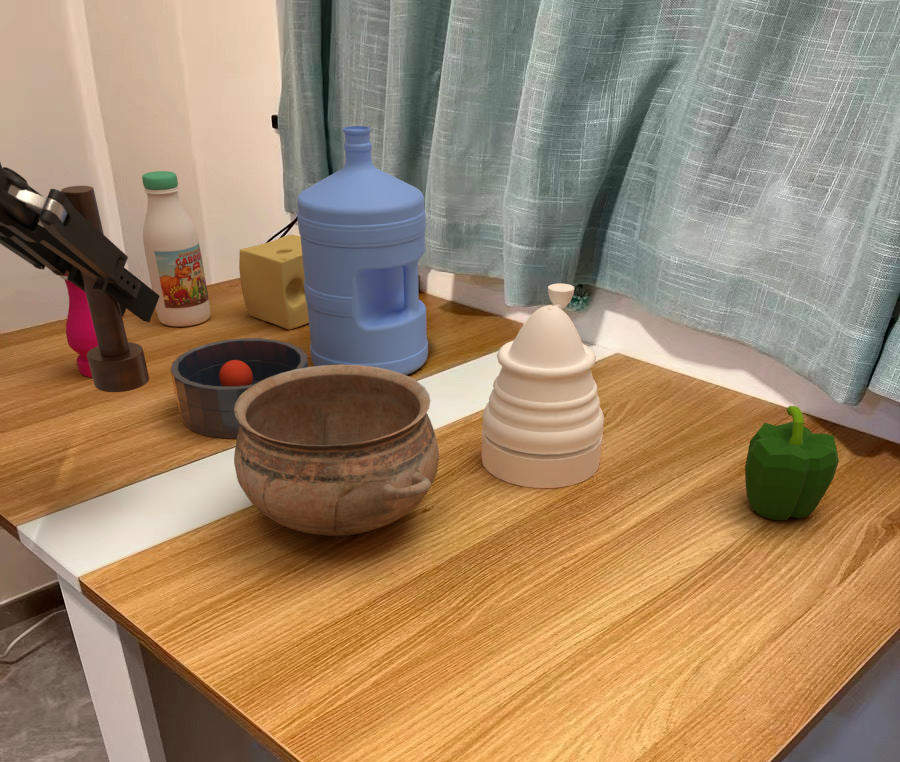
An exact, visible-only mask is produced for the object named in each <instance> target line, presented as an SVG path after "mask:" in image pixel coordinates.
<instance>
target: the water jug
mask: <svg viewBox="0 0 900 762" xmlns="http://www.w3.org/2000/svg"><path fill="white" fill-rule="evenodd" d="M371 131H372V129H371V127H370V126H365V125H351V126H345V127H342V132H343V133H344V144H343V149H344V152H345V153H344V154H345V163H344V164H343V165H344V166H343V167H342V168H340V169H338V170H337V171H335V172H333V173H332V174H330V175H328V176H327V177H325V178H323V179H321V180H319V181H318V182H316V183H315V184H312V185H311V186H309V187H306V189H304V190H302V191H301V192H300V193H299V194H298V196H297V199H296V205H297V213H296V216H297V218H296V219H297V227H298V233H299V236H300V237H301V247H302V257H303V267H304V278H305V280H304V290H305V298H306V302H307V308H308V319H309V323H308V326H309V327H308V328H309V335H310V337H309V339H310V344H309V350H310V359H311V362H312V364H313V366H323V365H362V366H372V367H377V368H383V369H388V370H391V371H395V372H398V373H401V374H403V375H406V376H408V375H411V374H412V373H415V372H416V371H418V370H419V369H420V368H421V367H423V366H424V364H425V363H426V362H427V360H428V356H429V341H428V337H427V336H428V334H427V329H428V328H427V307H426V305H425V303H424V302H423V301H422V300H421V299H419V298H420V297H419V296H420V295H419V294H420V292H419V261H420V259H422V257H423V256H424V254H425V252H426V230H427V229H426V227H427V218H426V217H427V213H426V208H425V196H424V194H423V192H422V191H421V190H420V189H419V188H418V187H416V186H413V185H412V184H409V183H408V182H406V181H403V180H401V179H399V178H397V177H395V176H393V175H391V174H390V173H387V172H385V171H383V170H381V169H379V168H377V167H376V166H375V165H374V163H373V160H372V147H373V146H372V142H371V139H370V137H371V136H370V133H371Z"/></svg>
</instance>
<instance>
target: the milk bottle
mask: <svg viewBox="0 0 900 762" xmlns="http://www.w3.org/2000/svg"><path fill="white" fill-rule="evenodd" d="M141 180H142V185H143V188H144V193H146V196H147V197H146V198H147V206H146V213H145V214H146V215H145V218H144V222H143V228H142V239H143V248H144V254H145V261H146V265H147V271H148V276H149V280H150V286H151V289H152V290H153V291H154V292H156V293H157V294H158V295H159V296H160V297H159V299H158V302H157V305H156V307H155V312H156V315H157V319H158V320H159V322H160V324H163V325H165V326H169V327H190V326H195V325H199V324H203V323H205V322H206V321H208V320H209V319H210V317H211V313H212V312H211V305H210V299H209V293H208V287H207V286H208V285H207V281H206V275H205V268H204V263H203V257H202V251H201V247H200V246H201V245H200V242H199V237H198V234H197V233H198V232H197V230H196V228H195V225H194V223H193V221H192V220H191V218H190V217H189V214H188V213H187V212H186V210H185V208H184V206H183V204H182V201H181V199H180V197H179V190H180V188H179V181H178V176H177V174H176V173H175V172H174V171H169V170H156V171H148V172H145V173H143V174H142V176H141Z"/></svg>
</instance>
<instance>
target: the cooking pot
mask: <svg viewBox="0 0 900 762" xmlns="http://www.w3.org/2000/svg"><path fill="white" fill-rule="evenodd" d="M430 405H431V397H430V393H429V392H428V390H427V389H426V388H425V386H424V385H423V384H421V383H420V382H419V381H418V380H416V379H414V378H412V377H410V376H408V375H403V374H401V373H398V372H395V371H391V370H388V369H383V368H377V367H372V366H362V365H323V366H315V365H313V366H308V367H307V368H301V369H296V370H291V371H288V372H284V373H280V374H277V375H274V376H271V377H269V378H266V379H264V380H262V381H260V382H258V383H256V384H254V385H253V386H251V387H250V388H248V389H247V390H246V391H245V392H244V393H242V394H241V395H240V397H239V398H238V400H237V401H236V403H235V408H234V413H235V417H236V419H237V420H238V422H239V423H240V427H239V430H238V436H237V439H236V442H235V448H234V455H233V464H234V469H235V473H236V480H237V482H238V484H239V486H240V487H241V489H242V491H243V492H244V494H245V496H246V498H247V499H248V500H249V502H250V503H251V504H252V505H253V506H254V507H255V508H256V509H257V510H258V511H259V512H260V513H262V514H263V515H264V516H266V517H267V518H269V519H270V520H272V521H274V522H275V523H277V524H279V525H281V526H283V527H286V528H289V529H292V530H294V531H298V532H303V533H306V534H311V535H317V536H318V535H319V536H326V537H327V536H328V537H341V538H342V537H351V536H356V535H359V534H363V533H367V532H371V531H374V530H377V529H379V528H383V527H386V526H388V525H389V524H392V523H393V522H395V521H398V520H399V519H401V518H403V517H404V516H406V515H407V514H408V513H410V512H411V511H412V510H414V509H415V508H416V507H417V506H418V505H419V504H420V503H421V501H422V500H423V499H424V498H425V497H426V495H427V494H428V492H429V490H430V489H431V488H432V485H433V482H434V481H435V479H436V475H437V474H438V469H439V468H438V467H439V461H440V451H439V445H438V440H437V439H438V438H437V435H436V433H435V429H434V427H433V424H432V421H431V419H430V416H429V414H428V412H429V409H430Z"/></svg>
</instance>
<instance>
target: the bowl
mask: <svg viewBox="0 0 900 762" xmlns="http://www.w3.org/2000/svg"><path fill="white" fill-rule="evenodd" d="M231 360H239V361H242V362H244V363H246V364H247V365H248V366H249V367H250V369H251V371H252V374H253V382H252V385H246V386H229V387H223V386H222V384H221V382H220V379H219V373H220V370H221V368H222V366H223V365H224V364H225V363H227V362H228V361H231ZM307 367H309V361H308V355H307V353H306V352H305V351H304V350H303V349H302V348H301V347H298V346H297V345H295V344H293V343H290V342H287V341H283V340H278V339H271V338H261V337H249V338H248V337H244V338H243V337H241V338H231V339H224V340H219V341H213V342H209V343H206V344H203V345H198V346H196V347H194V348H191V349H190V348H189V350H187V351H185V352H183V353H182V354H179V355H178V356H177V357H176V358H175V359H174V361H172V363H171V366H170V373H171V375H170V376H171V380H172V386H173V390H174V395H175V401H176V405H177V410H178V411H177V412H178V414H179V416H180V420H181V423H182V424H183V425H184V426H185V428H187V429H189V430H190V431H192V432H194V433H196V434H200V435H202V436H206V437H210V438H216V439H230V440H231V439H232V440H233V439H234V440H237V436H238V430H239V427H240V423H239V422H238V420H237V419H236V417H235V413H234V408H235V403H236V401H237V400H238V398H239V397H240V395H241V394H242V393H244V392H245V391H246V390H247V389H248V388H250V387H251V386H253V385H254V384H256V383H258V382H260V381H262V380H264V379H266V378H269V377H271V376H274V375H277V374H280V373H284V372H288V371H291V370H296V369H301V368H307Z"/></svg>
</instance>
